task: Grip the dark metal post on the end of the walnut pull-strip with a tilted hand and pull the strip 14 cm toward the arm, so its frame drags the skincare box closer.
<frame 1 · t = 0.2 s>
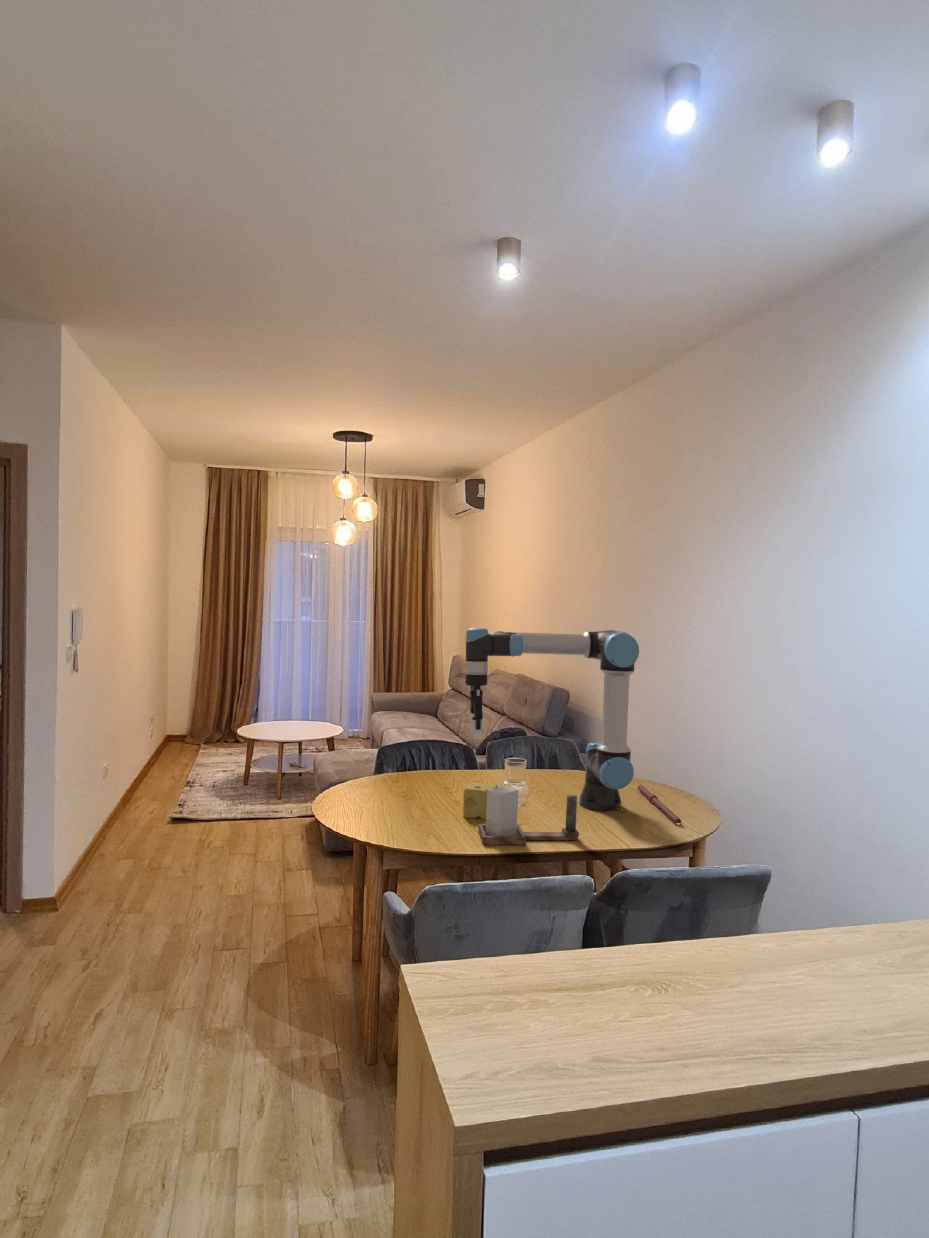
hand: (475, 735, 264), 28 cm above the table, tool pointing down, fingers open, 13 cm apart
skincare box: (501, 839, 242), resting in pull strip
cheese: (479, 815, 266), on the table
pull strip: (529, 816, 242), point 7 cm above the table, slide at 0.0 cm
reddish-brown rod: (657, 807, 285), on the table
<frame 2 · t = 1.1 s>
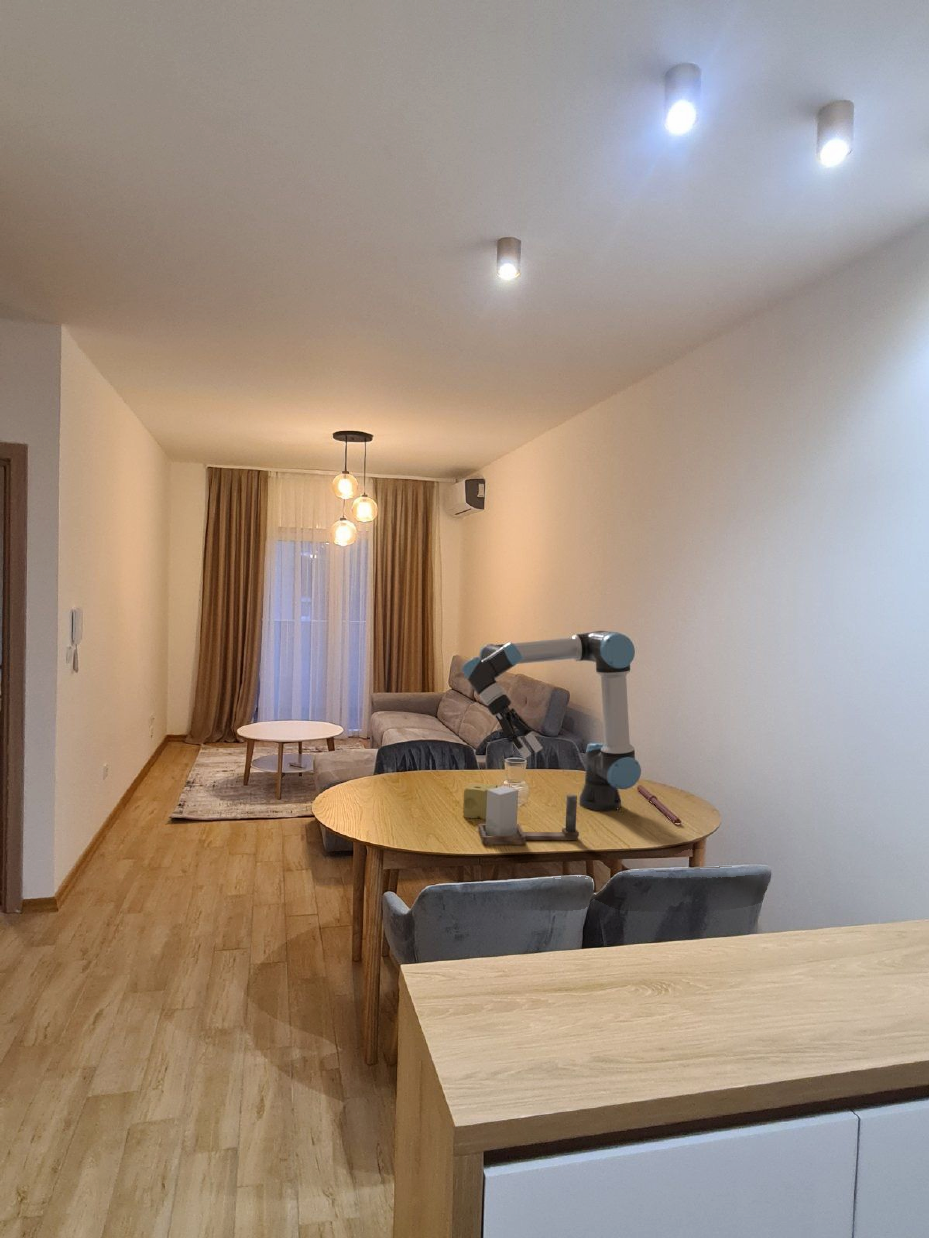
hand: (533, 753, 249), 25 cm above the table, tool tilted 40°, fingers open, 13 cm apart
nothing on the table moved.
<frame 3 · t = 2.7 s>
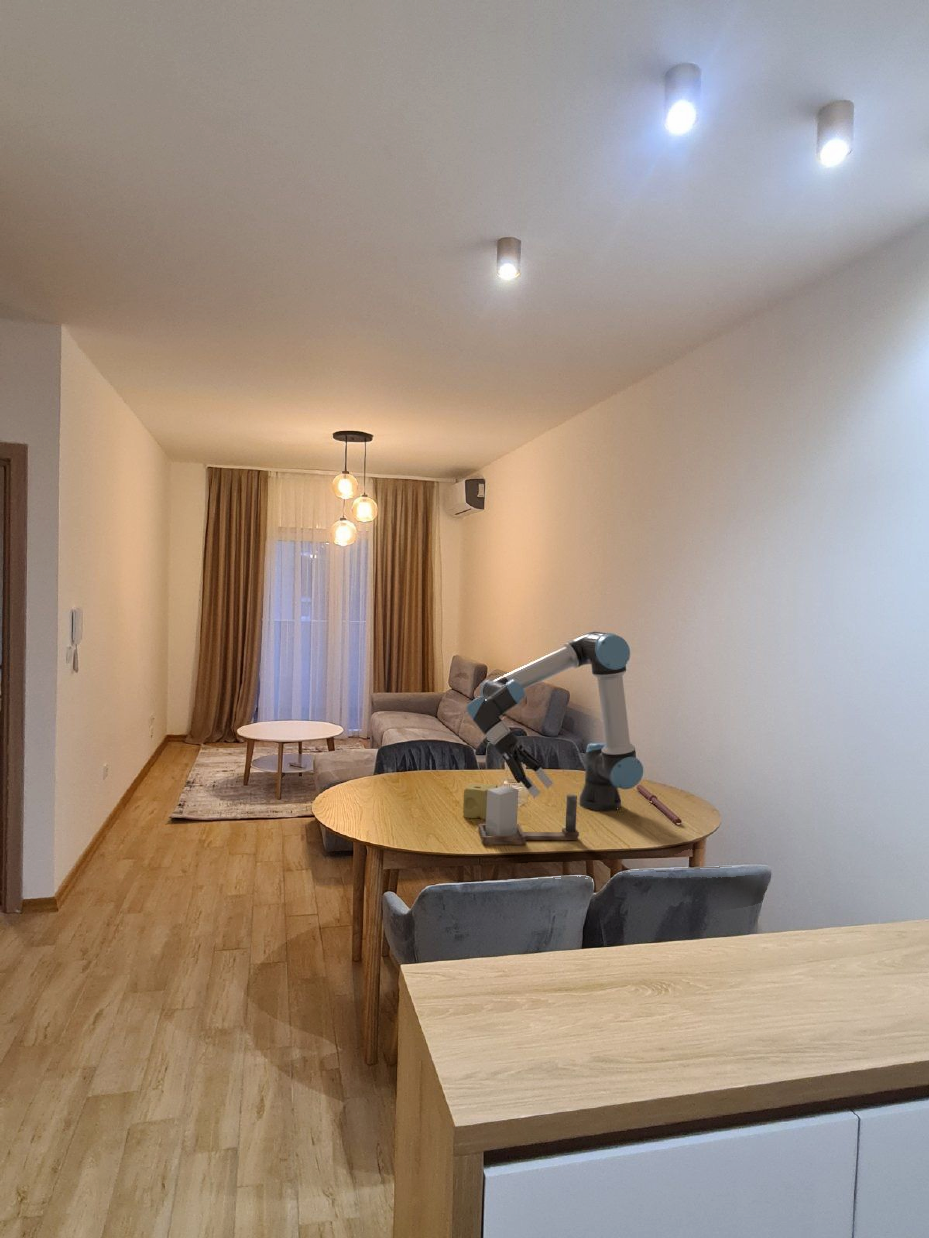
hand: (544, 790, 246), 14 cm above the table, tool tilted 45°, fingers open, 13 cm apart
nothing on the table moved.
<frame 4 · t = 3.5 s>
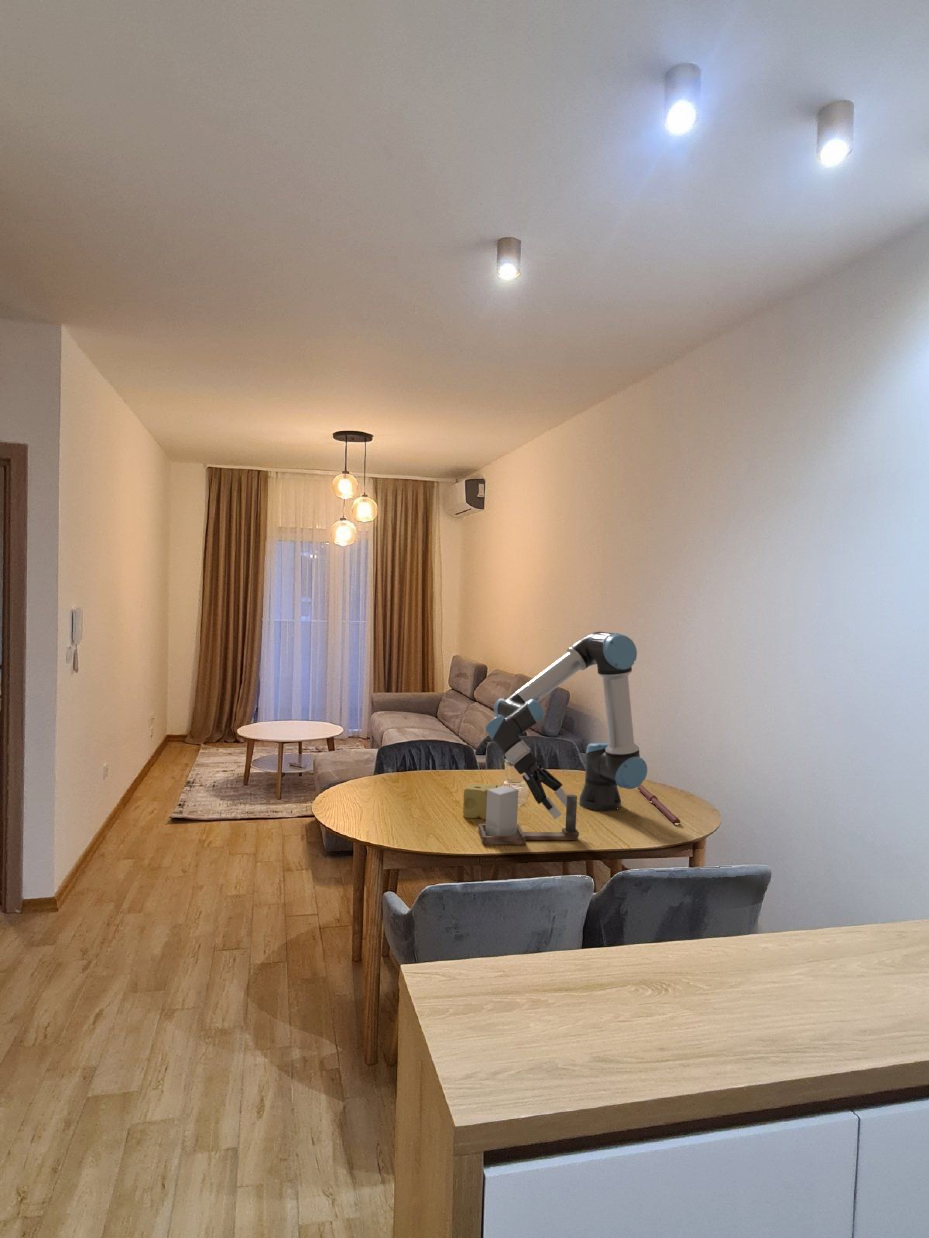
hand: (564, 811, 244), 9 cm above the table, tool tilted 45°, fingers open, 13 cm apart
nothing on the table moved.
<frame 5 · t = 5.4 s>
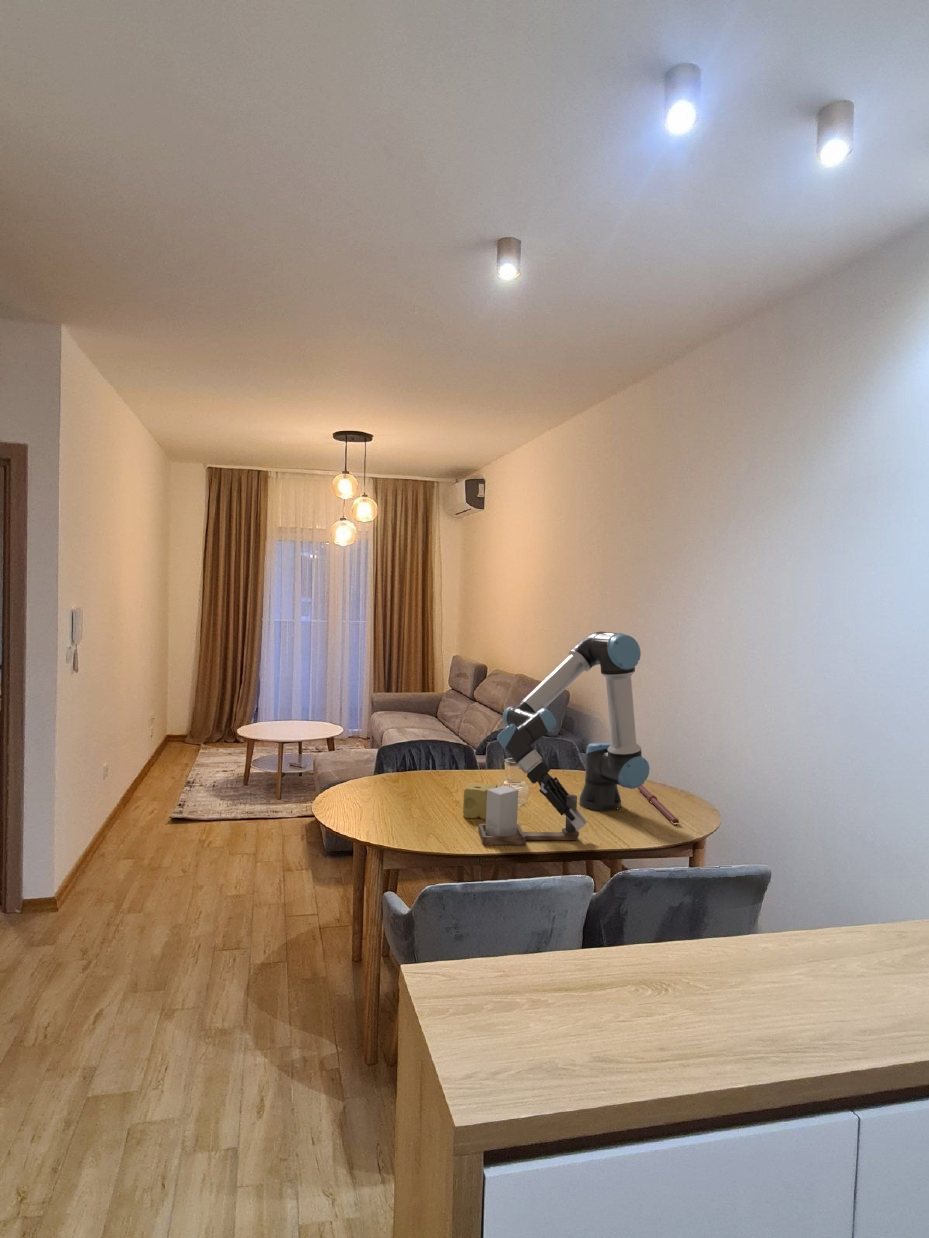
hand: (582, 826, 242), 5 cm above the table, tool tilted 45°, fingers closed on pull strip, 3 cm apart
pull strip: (529, 816, 242), point 7 cm above the table, slide at 0.0 cm, touching gripper
everything else where it was.
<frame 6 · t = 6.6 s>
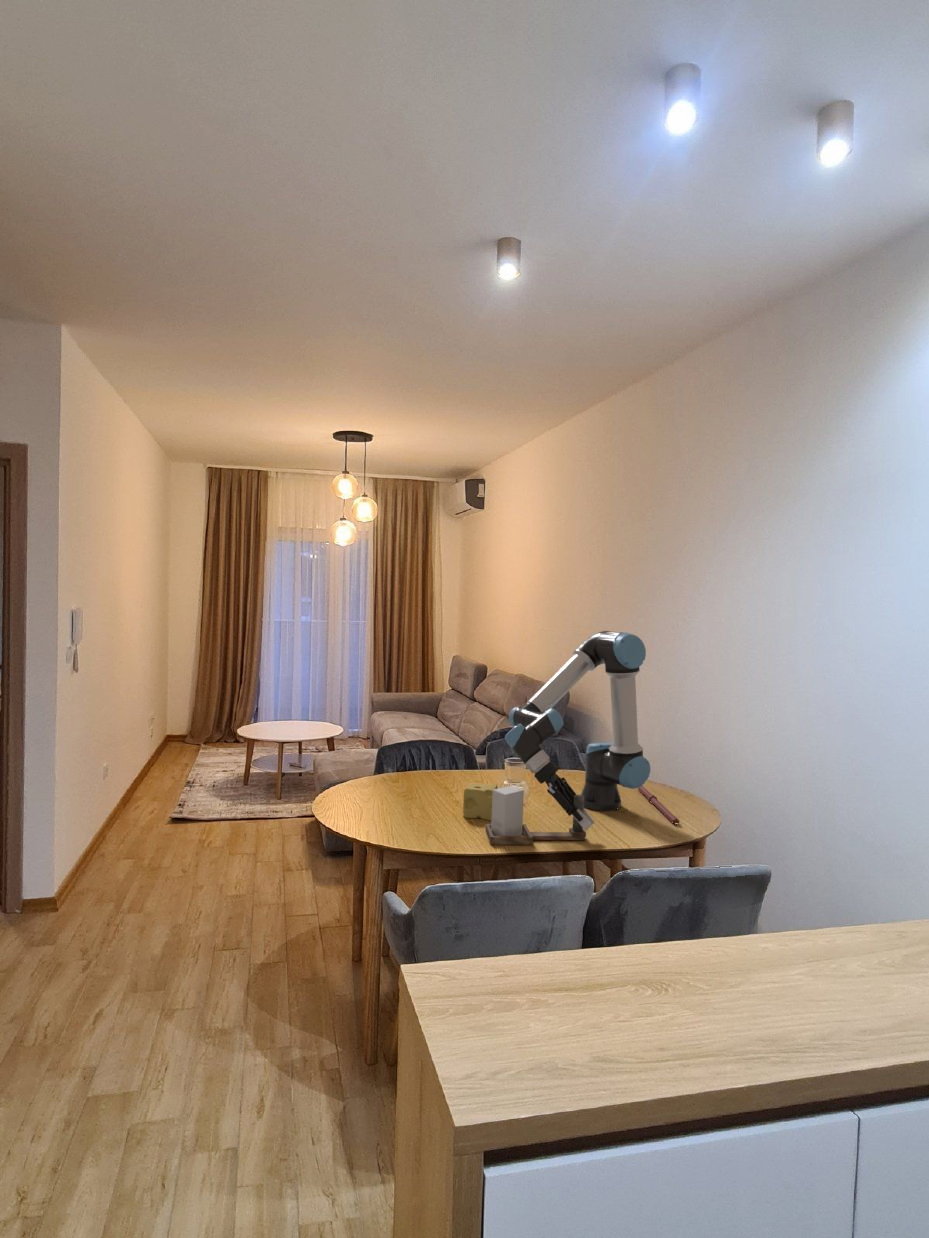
hand: (590, 826, 242), 5 cm above the table, tool tilted 45°, fingers closed on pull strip, 3 cm apart
skincare box: (506, 839, 242), resting in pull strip
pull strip: (537, 816, 243), point 7 cm above the table, slide at 2.3 cm, touching gripper
everything else where it was.
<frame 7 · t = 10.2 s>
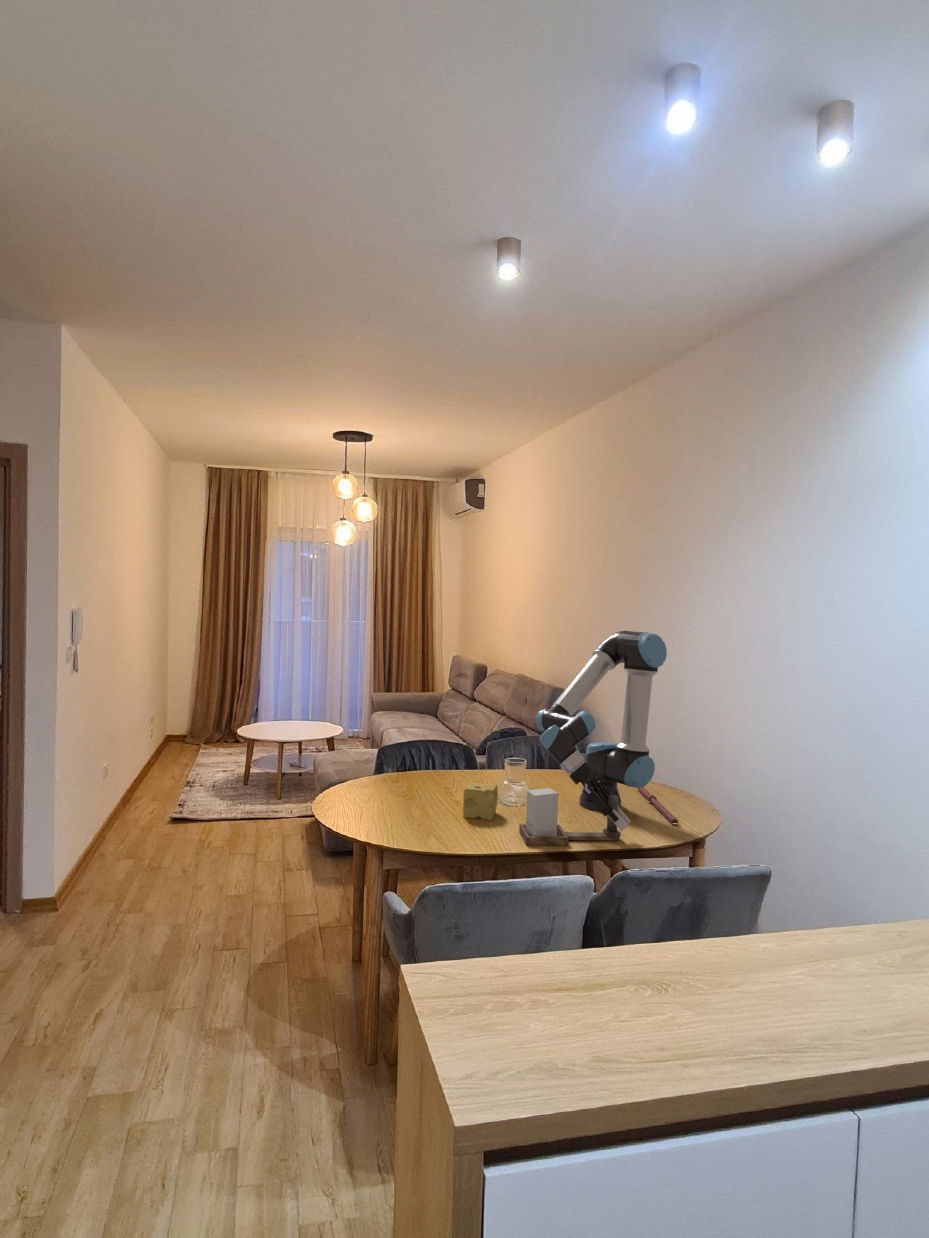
hand: (626, 826, 244), 5 cm above the table, tool tilted 45°, fingers open, 4 cm apart
skincare box: (540, 840, 242), resting in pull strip
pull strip: (571, 816, 244), point 7 cm above the table, slide at 13.3 cm
everything else where it was.
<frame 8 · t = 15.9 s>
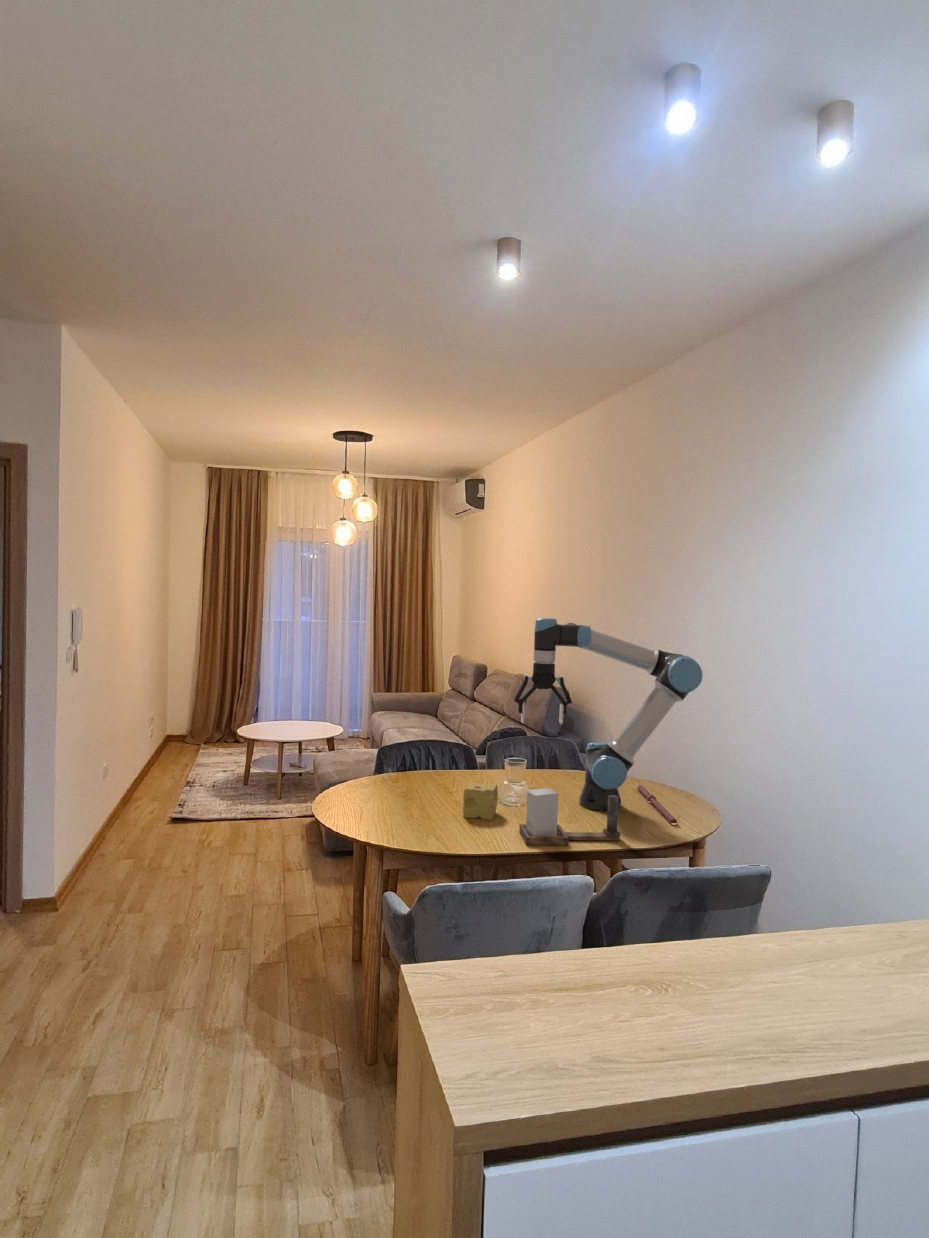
hand: (541, 723, 270), 32 cm above the table, tool pointing down, fingers open, 13 cm apart
nothing on the table moved.
at the end: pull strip slide at 13.3 cm; skincare box inside the target area (1.6 cm from its centre), resting in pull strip; skincare box tilted 0° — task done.
